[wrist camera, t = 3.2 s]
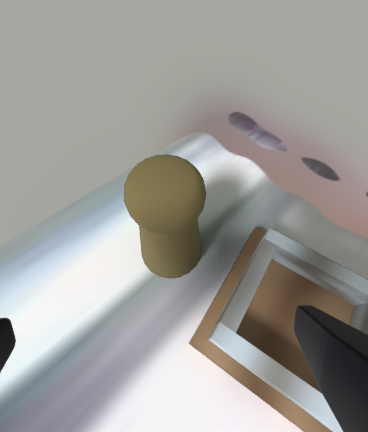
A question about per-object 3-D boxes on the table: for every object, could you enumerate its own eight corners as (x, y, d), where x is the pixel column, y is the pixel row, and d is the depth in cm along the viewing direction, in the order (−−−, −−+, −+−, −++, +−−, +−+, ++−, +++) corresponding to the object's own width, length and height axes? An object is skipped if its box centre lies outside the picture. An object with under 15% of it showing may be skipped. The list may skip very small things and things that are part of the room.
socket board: (374, 300, 20) (414, 291, 16) (339, 459, 15) (387, 494, 11) (251, 233, 23) (263, 213, 20) (188, 343, 18) (190, 343, 15)
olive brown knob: (189, 287, 20) (196, 237, 11) (130, 265, 21) (88, 201, 12) (209, 232, 23) (227, 153, 14) (156, 214, 24) (139, 130, 15)
